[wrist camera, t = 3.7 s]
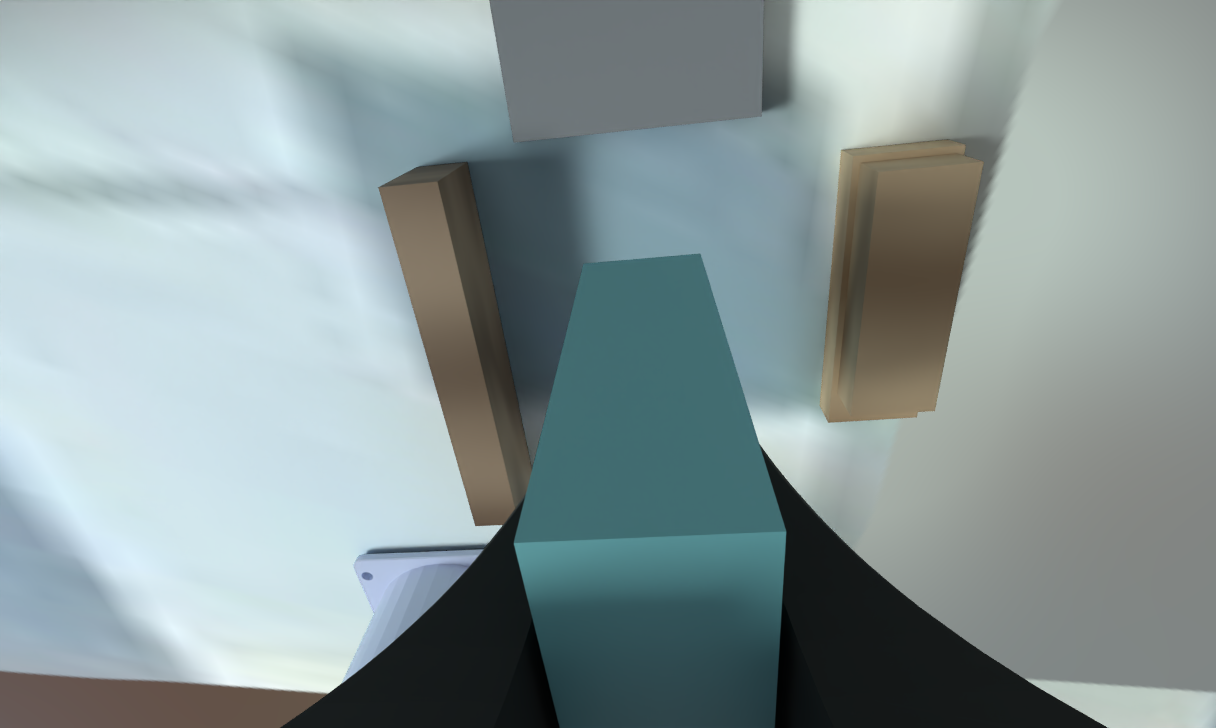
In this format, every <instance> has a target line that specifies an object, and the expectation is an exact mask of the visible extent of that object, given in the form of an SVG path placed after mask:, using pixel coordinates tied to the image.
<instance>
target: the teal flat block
mask: <svg viewBox="0 0 1216 728" xmlns="http://www.w3.org/2000/svg"><path fill="white" fill-rule="evenodd" d="M785 544H786V529H785V526H784V523H783V519H782V516H781V513H780V510H779V506H778V503H777V500H776V497H775V493H774V490H773V487H772V484H771V481H770V477H769V474H768V471H767V468H766V464H765V461H764V458H763V455H762V451H761V448H760V445H759V442H758V439H757V435H756V432H755V429H754V426H753V422H752V419H751V416H750V413H749V409H748V406H747V403H746V400H745V397H744V393H743V390H742V387H741V384H740V380H739V377H738V374H737V371H736V367H735V364H734V361H733V358H732V355H731V351H730V348H729V345H728V342H727V338H726V335H725V332H724V329H723V325H722V322H721V319H720V316H719V312H718V309H717V306H716V303H715V300H714V296H713V293H712V290H711V287H710V283H709V280H708V277H707V274H706V270H705V267H704V264H703V261H702V258H701V254H691V255H680V256H668V257H656V258H645V259H633V260H621V261H610V262H598V263H587V264H583V268H582V272H581V276H580V280H579V284H578V288H577V292H576V296H575V300H574V304H573V308H572V312H571V316H570V320H569V324H568V328H567V332H566V336H565V340H564V344H563V348H562V352H561V356H560V360H559V364H558V368H557V372H556V376H555V380H554V384H553V388H552V392H551V396H550V400H549V404H548V408H547V412H546V416H545V420H544V424H543V428H542V432H541V436H540V440H539V444H538V448H537V452H536V456H535V460H534V464H533V468H532V472H531V476H530V480H529V484H528V488H527V492H526V496H525V500H524V504H523V508H522V512H521V516H520V520H519V524H518V528H517V532H516V536H515V540H514V546H515V550H516V554H517V558H518V562H519V566H520V570H521V574H522V578H523V582H524V586H525V590H526V594H527V598H528V602H529V606H530V610H531V614H532V618H533V622H534V626H535V630H536V634H537V638H538V642H539V646H540V650H541V654H542V658H543V662H544V666H545V670H546V674H547V678H548V682H549V686H550V690H551V694H552V698H553V702H554V707H555V711H556V715H557V719H558V723H559V727H560V728H775V712H776V695H777V679H778V662H779V645H780V628H781V611H782V595H783V578H784V561H785Z"/></svg>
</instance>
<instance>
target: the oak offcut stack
mask: <svg viewBox="0 0 1216 728" xmlns="http://www.w3.org/2000/svg"><path fill="white" fill-rule="evenodd" d="M965 147H966V145H965V144H961V143H958V142H954V141H951V140H937V141H927V142H917V143H908V144H898V145H888V146H878V147H868V148H858V149H848V150H841V158H840V170H839V182H838V194H837V205H836V217H835V229H834V241H833V253H832V265H831V277H830V289H829V301H828V313H827V325H826V337H825V349H824V361H823V373H822V385H821V397H820V407H821V409H822V411H823V413H824V415H825V417H826V419H827V421H828V423H830V422H846V421H863V420H879V419H896V418H912V417H917V413H918V412H925V411H935V407H936V402H937V397H938V392H939V386H940V382H941V377H942V372H943V367H944V362H945V356H946V352H947V346H948V341H949V336H950V331H951V326H952V321H953V316H954V311H955V306H956V301H957V296H958V291H959V286H960V281H961V275H962V270H963V265H964V260H965V255H966V250H967V245H968V240H969V235H970V230H971V225H972V220H973V215H974V209H975V204H976V199H977V194H978V189H979V184H980V179H981V174H982V169H983V164H984V162H983V161H980V160H977V159H974V158H970V157H967V156H964V153H965Z"/></svg>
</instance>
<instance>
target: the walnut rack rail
mask: <svg viewBox="0 0 1216 728" xmlns="http://www.w3.org/2000/svg"><path fill="white" fill-rule="evenodd" d="M378 188H379V191H380V195H381V198H382V202H383V205H384V209H385V212H386V216H387V219H388V223H389V226H390V230H391V233H392V236H393V240H394V243H395V247H396V250H397V254H398V257H399V261H400V264H401V268H402V271H403V275H404V278H405V282H406V285H407V289H408V292H409V296H410V299H411V303H412V306H413V310H414V313H415V317H416V320H417V324H418V327H419V331H420V334H421V338H422V341H423V345H424V348H425V352H426V355H427V359H428V362H429V366H430V369H431V373H432V376H433V380H434V383H435V387H436V390H437V394H438V397H439V401H440V404H441V408H442V411H443V415H444V418H445V421H446V425H447V428H448V432H449V435H450V439H451V442H452V446H453V449H454V453H455V456H456V460H457V463H458V467H459V470H460V474H461V477H462V481H463V484H464V488H465V491H466V495H467V498H468V502H469V505H470V509H471V512H472V516H473V519H474V523H475V526H488V525H504V523H505V522H506V521H507V519H508V518H509V516H510V515H511V514H512V512H513V511H514V509H515V508H516V507H517V505H518V504H519V502H520V501H521V500H522V498H523V497H524V495H525V494H526V492H527V488H528V484H529V480H530V476H531V472H532V467H531V462H530V458H529V453H528V448H527V443H526V439H525V434H524V429H523V424H522V420H521V415H520V410H519V405H518V401H517V396H516V391H515V386H514V382H513V377H512V372H511V367H510V363H509V358H508V353H507V348H506V344H505V339H504V334H503V329H502V325H501V320H500V315H499V310H498V306H497V301H496V296H495V291H494V287H493V282H492V277H491V272H490V268H489V263H488V258H487V253H486V249H485V244H484V239H483V234H482V230H481V225H480V220H479V215H478V211H477V206H476V201H475V196H474V192H473V187H472V182H471V177H470V173H469V168H468V163H467V162H462V163H452V164H443V165H433V166H423V167H416V168H414V169H412V170H411V171H409V172H407V173H405V174H403V175H401V176H399V177H397V178H395V179H394V180H392V181H390V182H388V183H386V184H384V185H382V186H380V187H378Z"/></svg>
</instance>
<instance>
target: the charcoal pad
mask: <svg viewBox="0 0 1216 728" xmlns="http://www.w3.org/2000/svg"><path fill="white" fill-rule="evenodd" d="M489 1H490V7H491V13H492V19H493V24H494V30H495V36H496V42H497V48H498V54H499V59H500V65H501V71H502V77H503V83H504V89H505V95H506V100H507V106H508V112H509V118H510V124H511V130H512V135H513V141H514V142H524V141H533V140H543V139H552V138H562V137H571V136H581V135H590V134H599V133H609V132H618V131H628V130H637V129H647V128H656V127H666V126H675V125H684V124H694V123H703V122H713V121H722V120H732V119H741V118H751V117H760V116H762V76H763V29H764V0H489Z"/></svg>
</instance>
